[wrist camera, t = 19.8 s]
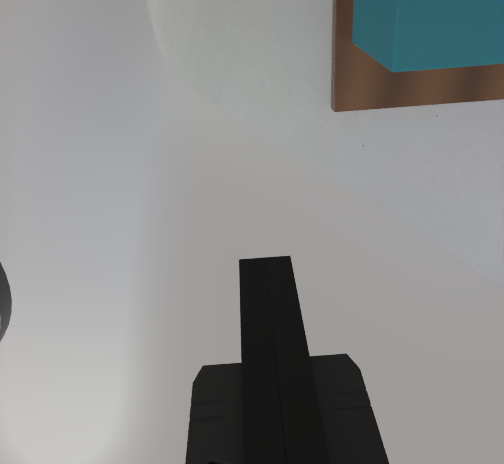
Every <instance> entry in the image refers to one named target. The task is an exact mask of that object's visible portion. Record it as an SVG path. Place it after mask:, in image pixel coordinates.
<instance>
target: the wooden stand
mask: <svg viewBox="0 0 504 464" xmlns="http://www.w3.org/2000/svg"><path fill="white" fill-rule="evenodd" d="M352 29H353V0H333V28H332V81H331V108H332V109H333V111H334V112H341V111H354V110H368V109H381V108H394V107H407V106H420V105H433V104H447V103H460V102H473V101H486V100H499V99H504V64H493V65H480V66H468V67H455V68H443V69H430V70H417V71H405V72H391V71H390V70H389V69H387V68H386V67H385V66H383V65H382V64H380V63H379V62H378V61H376V60H375V59H374V58H372V57H371V56H370V55H368V54H367V53H365V52H364V51H363V50H361V49H360V48H359V47H357V46H356V45H355V44H353V43H352Z"/></svg>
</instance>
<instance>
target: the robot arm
mask: <svg viewBox="0 0 504 464" xmlns="http://www.w3.org/2000/svg"><path fill="white" fill-rule="evenodd" d="M239 270H240V271H239V272H240V314H241V358H242V363H232V364H219V365H205V366H202V368H201V370H200V371H199V373H198V375H197V377H196V378H195V380H194V382H193V387H192V398H191V410H190V422H189V431H188V442H187V452H186V463H185V464H389V462H388V458H387V455H386V452H385V449H384V446H383V442H382V439H381V436H380V432H379V429H378V426H377V423H376V419H375V416H374V413H373V410H372V407H371V405H370V400H369V397H368V393H367V391H366V387H365V384H364V381H363V377H362V374H361V371H360V369H359V367H358V366H357V365H356V364H355V363H354V362H353V360H352V359H351V358H350V357H349V356H348V355H347V354H336V355H322V356H309V351H308V346H307V340H306V335H305V330H304V325H303V320H302V315H301V309H300V304H299V299H298V294H297V289H296V283H295V279H294V273H293V268H292V263H291V258H290V256H280V257H268V258H267V257H266V258H254V259H240V260H239Z"/></svg>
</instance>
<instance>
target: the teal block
mask: <svg viewBox="0 0 504 464" xmlns="http://www.w3.org/2000/svg"><path fill="white" fill-rule="evenodd" d="M352 43H353V44H355V45H356V46H357V47H359V48H360V49H361V50H363V51H364V52H365V53H367V54H368V55H370V56H371V57H372V58H374V59H375V60H376V61H378V62H379V63H380V64H382V65H383V66H385V67H386V68H387V69H389V70H390V71H391V72H405V71H417V70H430V69H443V68H455V67H468V66H480V65H493V64H504V0H353V29H352Z"/></svg>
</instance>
